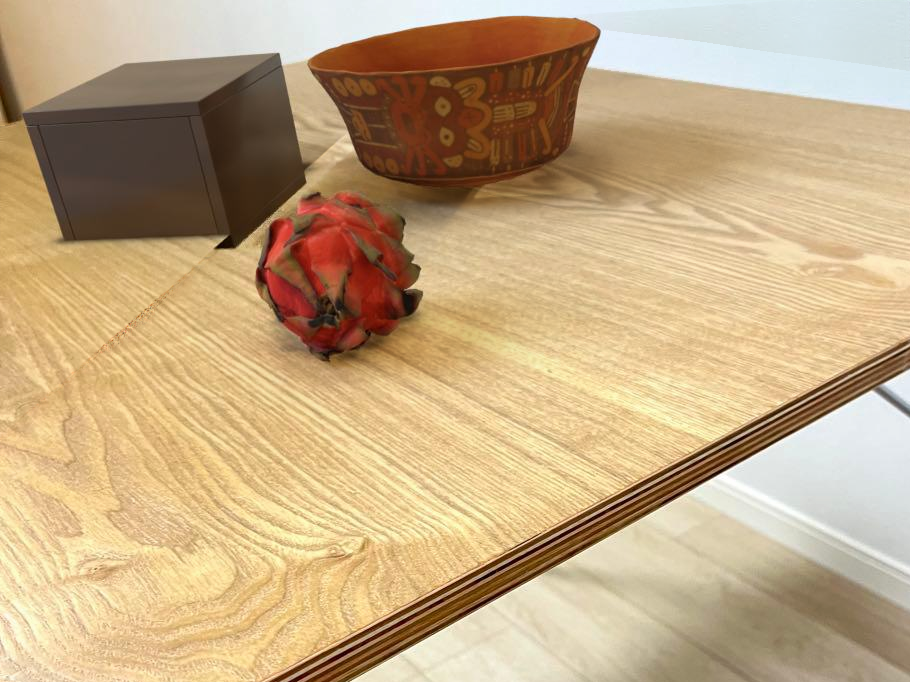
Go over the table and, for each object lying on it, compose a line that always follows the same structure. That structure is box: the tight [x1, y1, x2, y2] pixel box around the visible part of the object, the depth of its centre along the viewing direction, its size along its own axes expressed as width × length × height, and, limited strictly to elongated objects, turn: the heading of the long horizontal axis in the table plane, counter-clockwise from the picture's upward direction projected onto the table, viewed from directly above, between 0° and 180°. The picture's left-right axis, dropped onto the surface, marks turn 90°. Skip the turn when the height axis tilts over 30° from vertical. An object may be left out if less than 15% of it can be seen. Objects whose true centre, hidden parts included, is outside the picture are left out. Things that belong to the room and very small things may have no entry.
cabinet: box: [21, 52, 308, 250], centre depth 84 cm, size 15×13×10 cm
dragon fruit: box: [254, 189, 424, 363], centre depth 62 cm, size 8×8×12 cm
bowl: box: [306, 15, 602, 189], centre depth 85 cm, size 21×21×10 cm
